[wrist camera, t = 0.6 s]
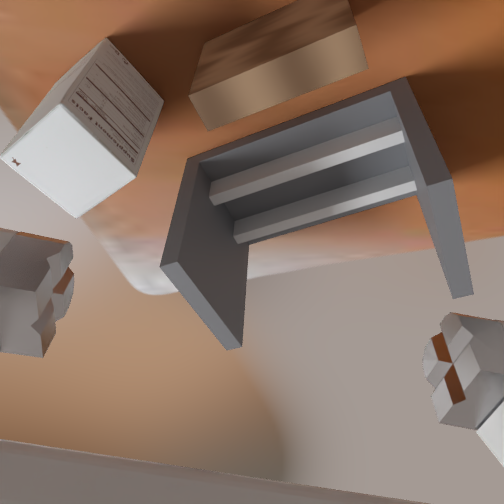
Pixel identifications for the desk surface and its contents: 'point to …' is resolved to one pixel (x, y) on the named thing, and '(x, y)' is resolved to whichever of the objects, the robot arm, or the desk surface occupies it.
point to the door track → (306, 195)
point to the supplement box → (87, 131)
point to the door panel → (276, 60)
